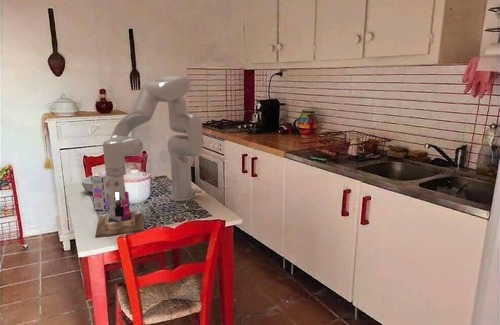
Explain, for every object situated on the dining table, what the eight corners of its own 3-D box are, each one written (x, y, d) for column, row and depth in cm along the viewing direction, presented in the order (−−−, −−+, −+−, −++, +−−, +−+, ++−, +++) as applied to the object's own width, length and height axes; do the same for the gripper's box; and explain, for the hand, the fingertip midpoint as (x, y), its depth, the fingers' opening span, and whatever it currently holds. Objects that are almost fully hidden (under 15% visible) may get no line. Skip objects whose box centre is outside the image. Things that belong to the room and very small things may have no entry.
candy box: (105, 211, 168) (101, 176, 165) (93, 210, 170) (90, 175, 166) (121, 201, 182) (118, 168, 178) (110, 200, 183) (107, 168, 179)
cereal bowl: (100, 185, 208) (98, 172, 206) (123, 188, 202) (122, 175, 200) (75, 194, 193) (74, 181, 191) (100, 198, 187) (99, 184, 185)
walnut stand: (142, 215, 163) (142, 207, 163) (144, 231, 147) (143, 223, 146) (98, 220, 158) (97, 212, 157) (95, 237, 141) (94, 229, 141)
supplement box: (119, 222, 148) (116, 195, 145) (109, 219, 151) (107, 193, 148) (131, 218, 153) (128, 191, 150) (121, 215, 156) (118, 189, 153)
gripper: (125, 175, 140) (129, 219, 144) (125, 165, 156) (129, 204, 160) (104, 177, 138) (109, 221, 142) (106, 166, 154) (110, 206, 158)
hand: (119, 212), depth 151 cm, fingers closed on supplement box, 7 cm apart
